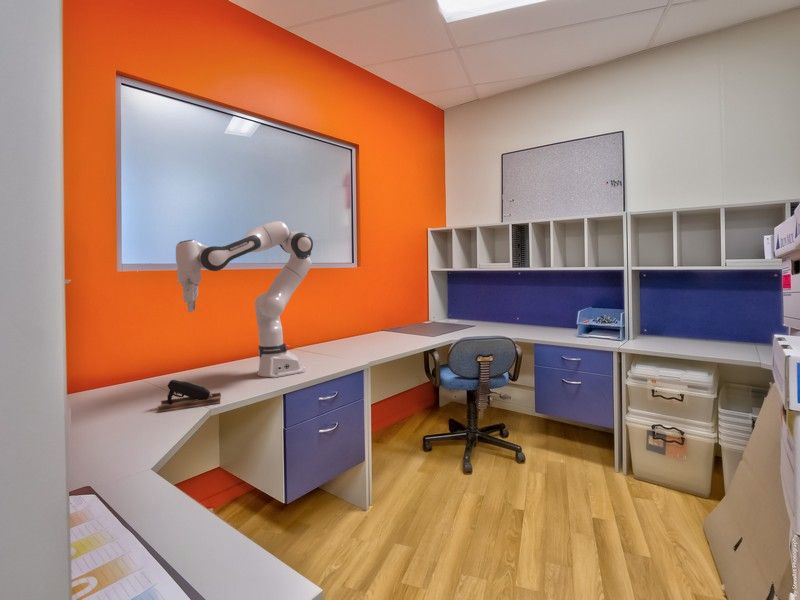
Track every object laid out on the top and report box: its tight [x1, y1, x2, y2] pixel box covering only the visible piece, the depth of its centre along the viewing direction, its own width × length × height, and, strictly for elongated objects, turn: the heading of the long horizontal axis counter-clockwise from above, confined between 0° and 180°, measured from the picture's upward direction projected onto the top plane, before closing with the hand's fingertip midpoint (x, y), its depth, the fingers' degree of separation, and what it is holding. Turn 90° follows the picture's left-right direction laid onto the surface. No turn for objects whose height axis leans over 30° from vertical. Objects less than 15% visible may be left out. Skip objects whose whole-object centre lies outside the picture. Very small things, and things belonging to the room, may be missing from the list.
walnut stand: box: [157, 392, 222, 414], centre depth 152 cm, size 21×10×2 cm, turn 112°
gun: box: [166, 379, 212, 405], centre depth 152 cm, size 3×16×10 cm, turn 110°
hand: (192, 311), depth 168 cm, fingers open, 8 cm apart
